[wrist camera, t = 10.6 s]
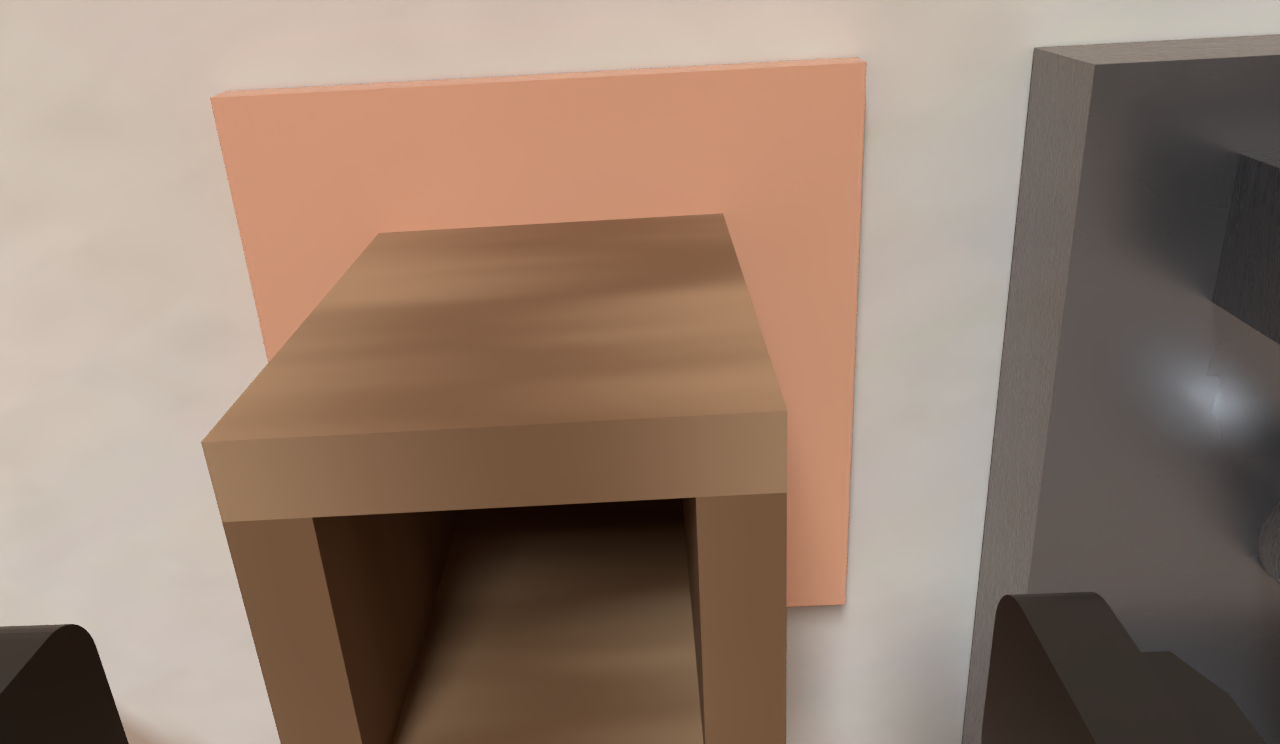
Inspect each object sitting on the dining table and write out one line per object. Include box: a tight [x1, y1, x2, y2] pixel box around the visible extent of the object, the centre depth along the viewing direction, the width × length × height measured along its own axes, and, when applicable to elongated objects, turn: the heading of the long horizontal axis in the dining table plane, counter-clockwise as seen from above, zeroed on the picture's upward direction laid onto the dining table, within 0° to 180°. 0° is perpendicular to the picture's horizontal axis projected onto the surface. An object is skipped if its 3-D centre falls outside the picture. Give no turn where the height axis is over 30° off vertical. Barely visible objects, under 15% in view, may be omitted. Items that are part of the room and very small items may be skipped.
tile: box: [210, 57, 866, 607], centre depth 16 cm, size 9×9×1 cm
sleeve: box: [201, 213, 787, 744], centre depth 12 cm, size 5×5×6 cm
